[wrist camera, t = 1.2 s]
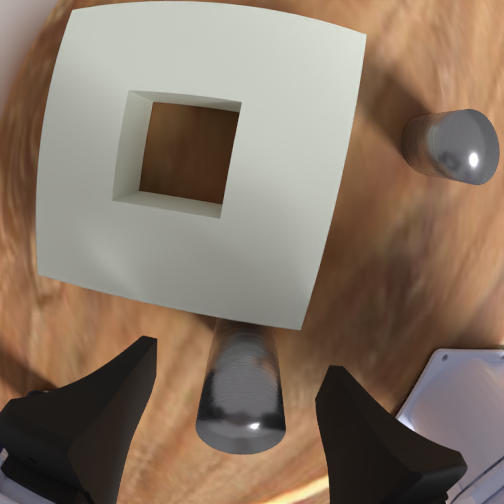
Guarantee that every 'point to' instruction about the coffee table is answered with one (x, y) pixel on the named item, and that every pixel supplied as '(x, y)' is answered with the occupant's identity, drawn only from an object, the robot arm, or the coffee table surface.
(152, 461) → the coffee table surface
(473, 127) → the short pin
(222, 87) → the hole block
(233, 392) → the long pin
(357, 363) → the coffee table surface
